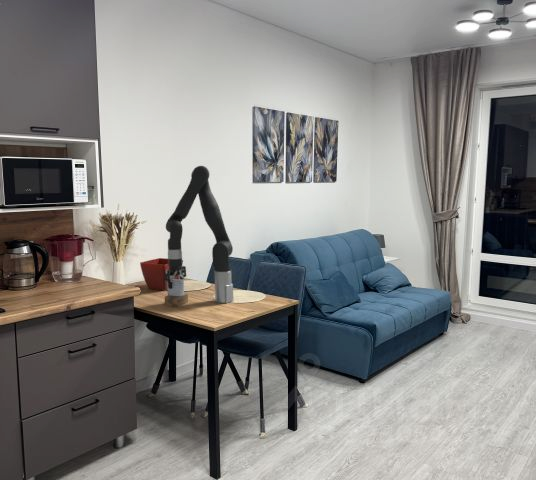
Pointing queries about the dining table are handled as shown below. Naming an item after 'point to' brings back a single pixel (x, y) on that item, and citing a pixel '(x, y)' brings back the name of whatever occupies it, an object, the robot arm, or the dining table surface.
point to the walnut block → (176, 300)
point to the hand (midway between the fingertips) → (176, 287)
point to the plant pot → (156, 273)
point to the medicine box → (176, 288)
